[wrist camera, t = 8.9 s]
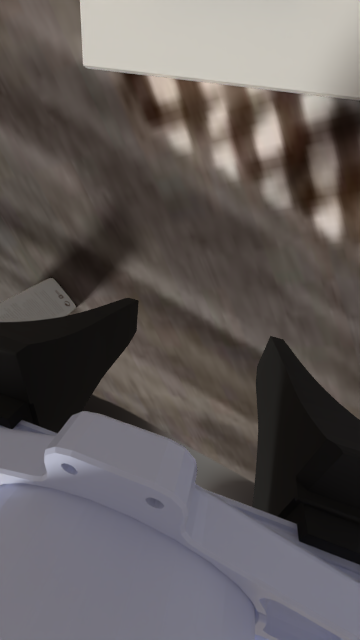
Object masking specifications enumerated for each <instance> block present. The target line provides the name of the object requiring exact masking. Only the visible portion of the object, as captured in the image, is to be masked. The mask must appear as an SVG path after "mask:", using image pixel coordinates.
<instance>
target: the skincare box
mask: <svg viewBox="0 0 360 640" xmlns="http://www.w3.org/2000/svg"><path fill="white" fill-rule="evenodd" d="M75 308H76V306H75V304H74V303H73V302H72V300H71V299H70V297H69V296H68V295H67V294H66V293H65V291H64V290H63V289H62V288H61V286H60V285H59V284H58V283H57V282H56V281H55V280H54V278H48V279H46V280H44V281H42V282H40V283H38V284H36V285H34V286H32V287H30V288H29V289H27V290H25V291H23V292H21V293H19V294H17V295H15V296H13V297H11V298H9V299H6V300H4V301H2V302H0V322H21V321H35V320H43V319H51V318H58V317H63V316H66V315H67V314H69V313H70V312H71V311H73V310H74V309H75Z"/></svg>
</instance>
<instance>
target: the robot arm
mask: <svg viewBox="0 0 360 640" xmlns="http://www.w3.org/2000/svg"><path fill="white" fill-rule="evenodd" d="M137 314H138V300H135V299H131V298H125V299H122V300H119V301H116V302H113V303H110V304H107V305H104V306H101V307H98V308H95V309H91V310H88V311H85V312H81V313H77V314H73V315H68V316H63V317H58V318H51V319H43V320H35V321H21V322H0V640H360V420H359V419H357V418H356V417H355V416H354V415H353V414H351V413H350V412H349V411H348V410H347V409H345V408H344V407H343V406H342V405H341V404H339V403H338V402H337V401H336V400H335V399H334V398H333V397H332V396H331V395H330V394H329V393H328V392H327V391H326V390H325V389H324V388H323V387H322V386H321V385H320V384H319V383H318V382H317V381H316V380H315V379H314V378H313V377H312V376H311V374H310V373H309V372H308V371H307V370H306V368H305V367H304V366H303V365H302V364H301V362H300V361H299V360H298V358H297V357H296V356H295V354H294V353H293V352H292V350H291V349H290V348H289V346H288V345H287V344H286V343H285V341H284V340H283V339H279V338H275V337H272V336H270V339H269V341H268V343H267V345H266V348H265V350H264V352H263V354H262V357H261V359H260V361H259V364H258V366H257V376H256V393H257V409H258V449H257V463H256V476H255V487H254V488H255V489H254V498H253V507H251V506H248V505H245V504H243V503H240V502H237V501H235V500H232V499H229V498H227V497H224V496H221V495H219V494H216V493H214V492H211V491H208V490H206V489H204V488H202V487H200V486H198V485H197V484H195V480H196V475H197V465H196V460H195V458H194V457H193V456H192V455H191V453H190V452H189V451H188V450H187V449H186V448H185V447H184V446H183V445H181V444H179V443H177V442H175V441H173V440H171V439H169V438H166V437H164V436H161V435H158V434H155V433H152V432H150V431H147V430H144V429H141V428H138V427H135V426H133V425H130V424H127V423H124V422H121V421H118V420H116V419H113V418H110V417H107V416H104V415H101V414H99V413H92V412H87V411H84V412H82V410H83V408H84V406H85V405H86V403H87V401H88V400H89V398H90V396H91V395H92V393H93V391H94V390H95V388H96V387H97V385H98V384H99V382H100V380H101V379H102V377H103V376H104V375H105V373H106V372H107V371H108V370H109V368H110V367H111V366H112V365H113V363H114V362H115V361H116V360H117V358H118V357H119V356H120V355H121V353H122V352H123V351H124V350H125V348H126V347H127V346H128V345H129V343H130V341H131V340H132V338H133V336H134V334H135V333H136V330H137Z"/></svg>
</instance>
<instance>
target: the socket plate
mask: <svg viewBox="0 0 360 640" xmlns="http://www.w3.org/2000/svg"><path fill="white" fill-rule="evenodd" d="M80 9H81V30H82V51H83V65H84V66H85V67H86V68H89V69H97V70H106V71H114V72H122V73H131V74H139V75H148V76H156V77H164V78H173V79H181V80H190V81H198V82H206V83H215V84H223V85H232V86H240V87H249V88H257V89H265V90H274V91H282V92H291V93H299V94H307V95H316V96H324V97H333V98H341V99H350V100H358V101H360V0H80Z"/></svg>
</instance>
